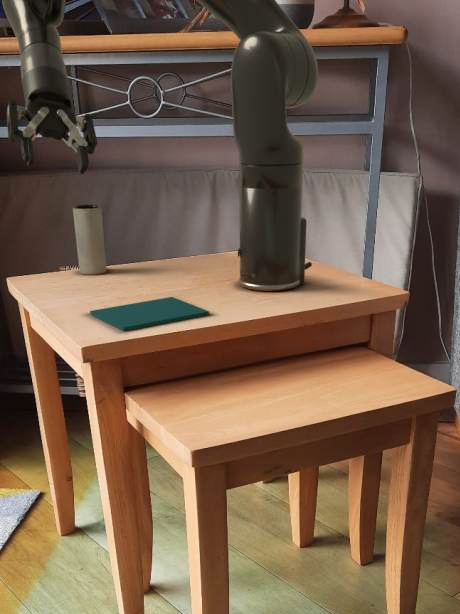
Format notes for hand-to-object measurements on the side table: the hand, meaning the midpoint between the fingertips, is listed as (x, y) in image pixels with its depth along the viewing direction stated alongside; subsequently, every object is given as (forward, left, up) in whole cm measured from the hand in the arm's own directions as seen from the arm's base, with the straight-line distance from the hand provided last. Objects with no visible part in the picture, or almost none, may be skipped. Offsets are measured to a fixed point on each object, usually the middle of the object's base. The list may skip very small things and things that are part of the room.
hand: (57, 166), depth 122 cm
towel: (+4, +36, -16) cm, 40 cm away
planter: (-2, +7, -16) cm, 17 cm away
